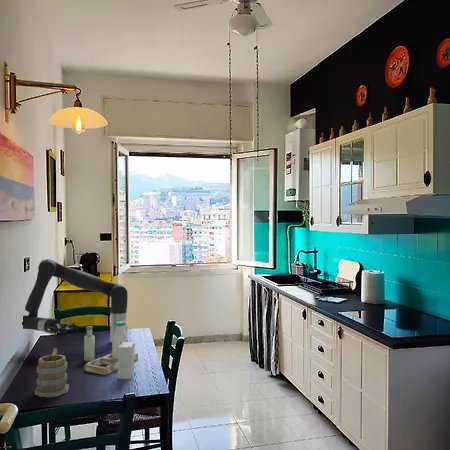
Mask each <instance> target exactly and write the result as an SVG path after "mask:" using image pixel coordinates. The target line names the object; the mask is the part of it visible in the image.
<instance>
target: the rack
mask: <svg viewBox="0 0 450 450" xmlns="http://www.w3.org/2000/svg"><path fill="white" fill-rule="evenodd" d="M138 357H139V355H138V353H135V354H134V362H136V361H139V358H138ZM102 365H105V366H102ZM116 371H118V359H113V358H112V353H110V354H107V355H105V356H102V357H98V358H96V359H94V360H93V361H87V362H86V364H84V372H88V373H94V374H99V375H105V376H106V375H107V376H108V375H109V374H111V373H113V372H116Z"/></svg>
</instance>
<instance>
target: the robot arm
mask: <svg viewBox="0 0 450 450" xmlns="http://www.w3.org/2000/svg"><path fill="white" fill-rule="evenodd" d="M53 277H54V278H57V279H58V278H59V279H61V280H63V281H65V282H66V283H68V284H70V285H72V286H74V287H76V288H79V289H82V290H86V291H89V292H94V293H101V294H103V295H106V296H108V297H110V299H111V301H110V304H111V306H110V325H109V327H110V341H109V343H111V344H112V341H113V335H114V333H115V330H116V322H119V321H123V322H125V327H124V328H125V331H126V334H127V335H128V322H127V321H128V319H127V317H128V315H127V314H128V313H127V310H128V297H129V295H128V290H127V289H126V287H125V286H124V285H122V284H118V283H114V282H111V281H107V280H103V279H102V278H100V277H98V276H95V275H93V274H90V273H88V272H85V271H82V270H78V269H76V268H73V267H69V266H66V265H63V264H60V263H58V262H57V261H54V260H52V259H50V258H46V259H43V260H41V261H40V262H39V264H38V267H37V277H36V281H35V283H34V286H33V288H32V290H31V292H30V293H29V297H28V299H27V301H26V304H25V308H24V310H25V311H26V312H28V315H24V316H23V315H22V316H23V322H22V325H23V329H22V330H34V331H40V332H42V333H46V334H47V333H48V334H57V333H64V334H65V333H67V331H68V330H79V325H78V324H76V323H75V322H70V321H69V322H68V321H66V322H61V321H60V320H59V319H56V318H49V317H41V316H39V309H40V307H41V304H42V302H43V298H44V295H45V293H46V290H47V287H48V285H49V283H50V281H51V280H52V278H53Z"/></svg>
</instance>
